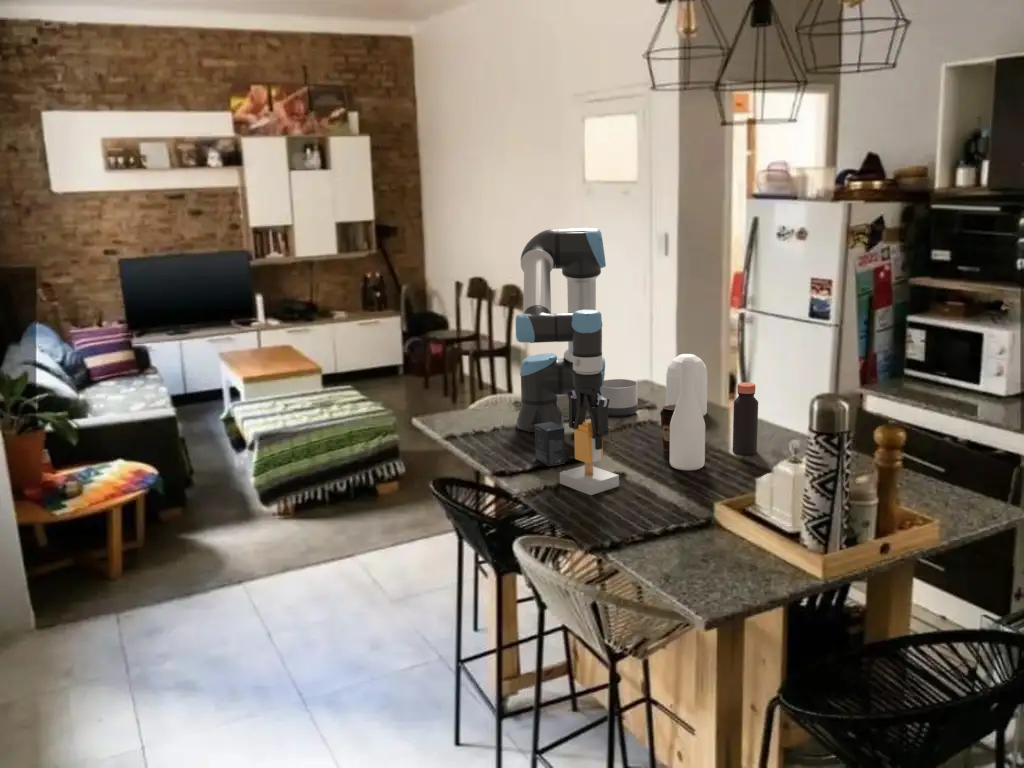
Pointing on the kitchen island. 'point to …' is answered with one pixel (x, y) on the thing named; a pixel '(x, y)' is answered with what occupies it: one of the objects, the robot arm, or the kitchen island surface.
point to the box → (550, 443)
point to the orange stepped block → (584, 442)
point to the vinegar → (745, 420)
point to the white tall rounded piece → (687, 425)
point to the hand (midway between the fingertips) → (588, 457)
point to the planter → (620, 396)
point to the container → (676, 381)
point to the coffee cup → (666, 425)
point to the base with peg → (589, 479)
